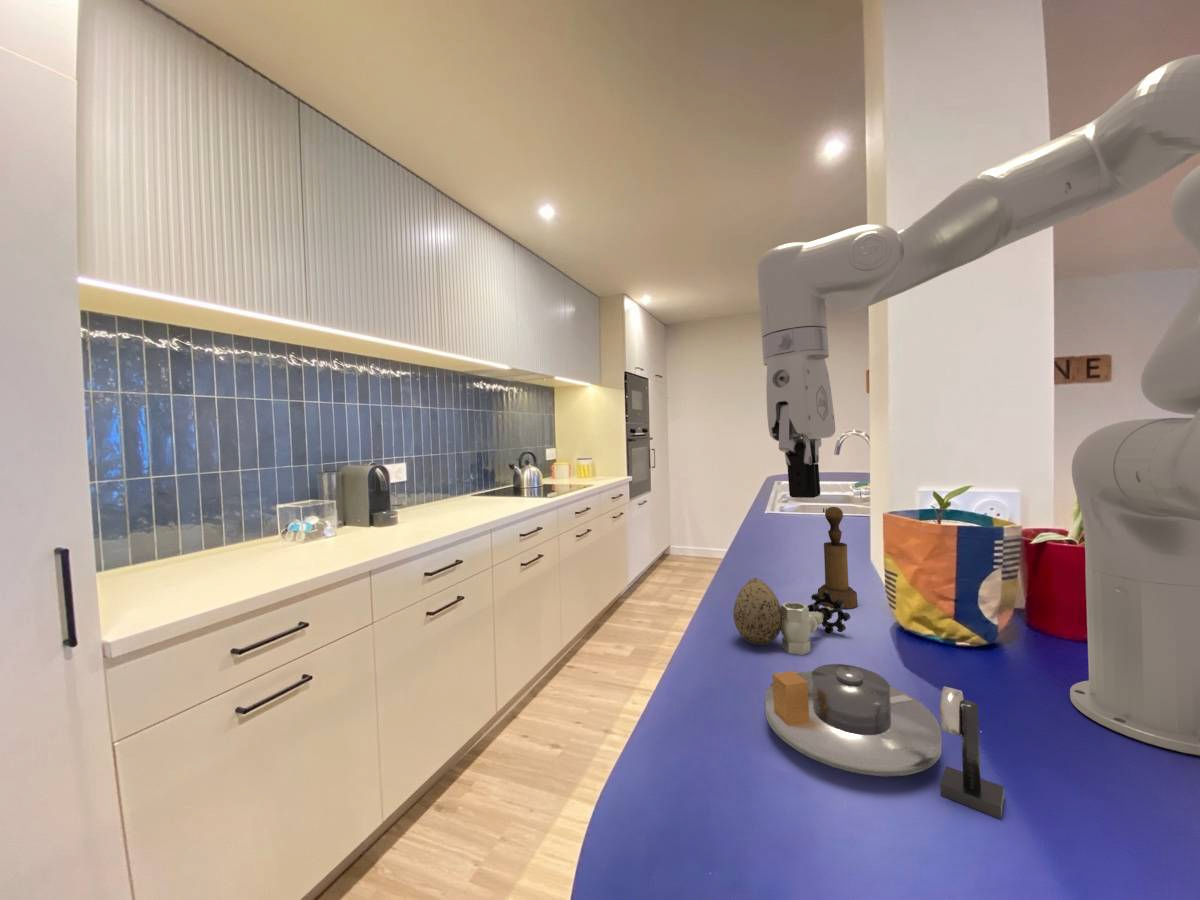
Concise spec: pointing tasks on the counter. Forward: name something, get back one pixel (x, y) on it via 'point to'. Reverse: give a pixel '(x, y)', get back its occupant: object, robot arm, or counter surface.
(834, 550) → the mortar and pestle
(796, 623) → the valve
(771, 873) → the counter surface
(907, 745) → the turntable
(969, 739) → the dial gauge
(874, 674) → the cover
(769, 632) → the decorative egg
